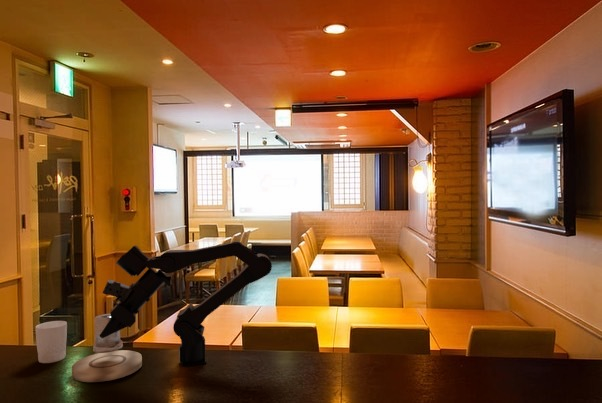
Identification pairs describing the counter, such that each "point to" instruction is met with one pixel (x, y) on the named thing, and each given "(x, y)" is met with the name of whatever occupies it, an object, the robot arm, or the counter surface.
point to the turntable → (106, 366)
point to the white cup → (51, 341)
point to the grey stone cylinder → (108, 342)
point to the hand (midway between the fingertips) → (102, 333)
